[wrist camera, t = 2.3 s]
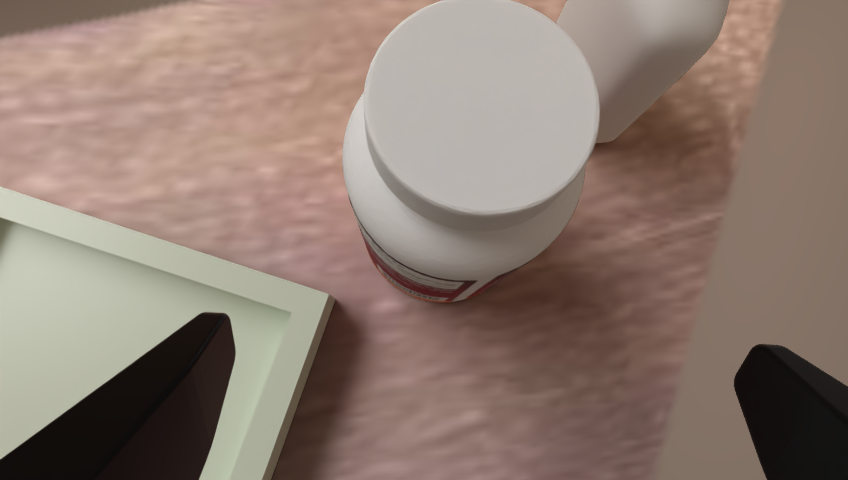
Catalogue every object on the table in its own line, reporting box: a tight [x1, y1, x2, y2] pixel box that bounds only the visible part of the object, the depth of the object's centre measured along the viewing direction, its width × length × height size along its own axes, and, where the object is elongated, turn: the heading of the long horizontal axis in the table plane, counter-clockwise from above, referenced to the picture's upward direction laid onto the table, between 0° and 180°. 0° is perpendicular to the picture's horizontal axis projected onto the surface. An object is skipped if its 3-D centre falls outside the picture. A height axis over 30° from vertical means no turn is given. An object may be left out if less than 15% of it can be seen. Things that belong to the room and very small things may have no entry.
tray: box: [0, 187, 336, 480], centre depth 17 cm, size 14×14×2 cm
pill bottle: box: [343, 0, 600, 302], centre depth 15 cm, size 6×6×11 cm
